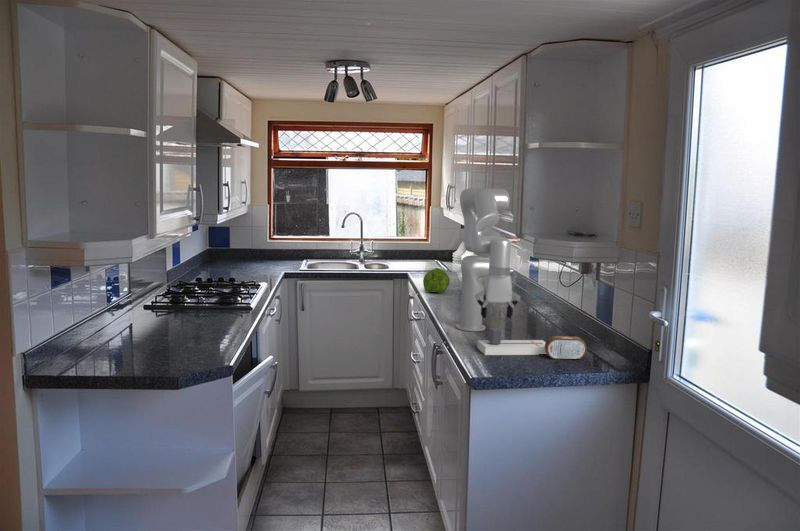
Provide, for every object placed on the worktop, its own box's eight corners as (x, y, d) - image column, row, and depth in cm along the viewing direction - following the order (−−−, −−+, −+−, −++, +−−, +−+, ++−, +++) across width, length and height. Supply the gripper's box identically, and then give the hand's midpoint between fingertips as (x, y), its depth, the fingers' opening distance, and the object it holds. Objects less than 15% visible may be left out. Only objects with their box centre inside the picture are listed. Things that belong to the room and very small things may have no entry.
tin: (584, 358, 238) (585, 336, 237) (586, 361, 235) (588, 338, 234) (543, 357, 238) (545, 335, 237) (545, 359, 235) (547, 337, 234)
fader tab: (488, 340, 245) (489, 327, 244) (496, 340, 245) (497, 327, 245) (492, 344, 240) (493, 331, 239) (500, 344, 241) (501, 331, 240)
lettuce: (424, 288, 384) (449, 292, 383) (420, 292, 360) (447, 296, 358) (428, 264, 383) (453, 268, 382) (424, 266, 359) (451, 270, 358)
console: (477, 347, 247) (477, 339, 247) (541, 347, 252) (542, 339, 251) (485, 355, 237) (485, 346, 237) (552, 354, 242) (552, 346, 242)
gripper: (517, 271, 244) (515, 315, 246) (473, 270, 241) (471, 315, 243) (525, 273, 237) (522, 319, 239) (479, 272, 234) (476, 319, 236)
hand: (496, 317), depth 241 cm, fingers open, 9 cm apart
